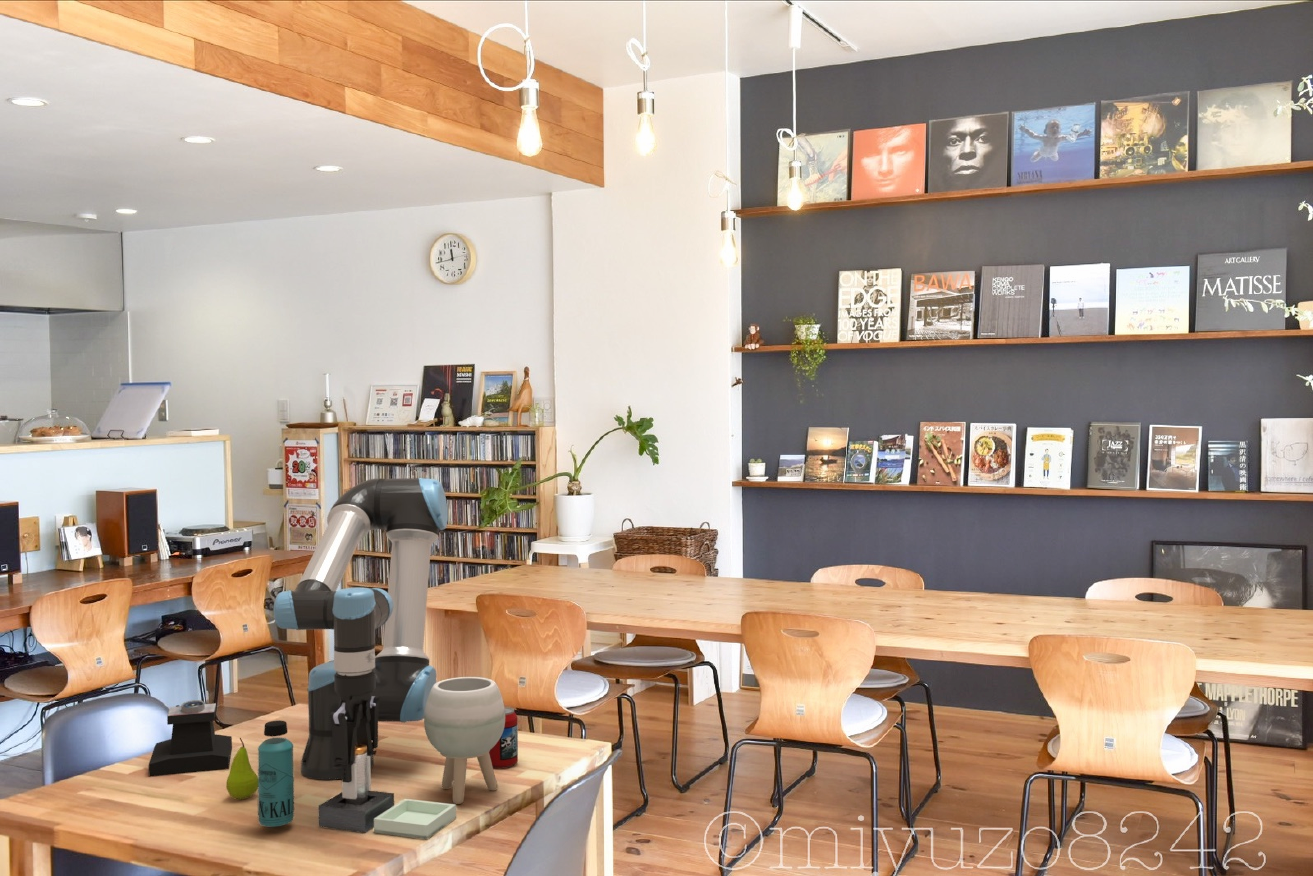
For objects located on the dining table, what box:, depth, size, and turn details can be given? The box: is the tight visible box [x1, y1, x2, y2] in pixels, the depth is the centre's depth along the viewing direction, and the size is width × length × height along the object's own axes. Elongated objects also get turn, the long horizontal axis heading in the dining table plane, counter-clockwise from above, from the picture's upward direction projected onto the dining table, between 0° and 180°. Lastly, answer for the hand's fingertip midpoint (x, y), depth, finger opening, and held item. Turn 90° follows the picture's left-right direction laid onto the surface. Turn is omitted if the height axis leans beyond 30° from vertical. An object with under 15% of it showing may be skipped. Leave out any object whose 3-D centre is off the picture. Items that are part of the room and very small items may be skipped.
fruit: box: [226, 737, 258, 801], centre depth 224 cm, size 6×6×12 cm
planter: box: [423, 676, 505, 805], centre depth 225 cm, size 16×16×22 cm
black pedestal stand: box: [148, 699, 233, 778], centre depth 246 cm, size 16×14×15 cm
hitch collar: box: [318, 790, 395, 834], centre depth 211 cm, size 10×10×4 cm
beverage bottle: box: [257, 719, 295, 828], centre depth 207 cm, size 6×7×20 cm
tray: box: [373, 798, 457, 841], centre depth 209 cm, size 11×11×3 cm
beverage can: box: [489, 706, 519, 769], centre depth 244 cm, size 7×7×12 cm
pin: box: [346, 744, 368, 805], centre depth 211 cm, size 4×4×14 cm
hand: (356, 793), depth 211 cm, fingers closed on pin, 4 cm apart
